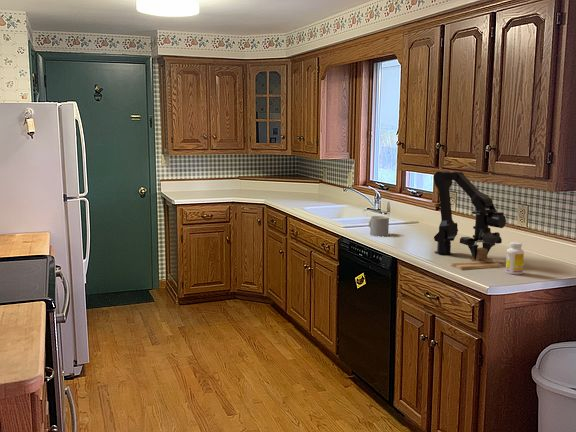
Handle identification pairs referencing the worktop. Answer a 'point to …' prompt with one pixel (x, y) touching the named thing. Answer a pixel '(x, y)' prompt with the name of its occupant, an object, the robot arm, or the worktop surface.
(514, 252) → the supplement bottle
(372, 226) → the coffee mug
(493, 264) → the plank
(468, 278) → the worktop surface
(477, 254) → the brown block with bar
